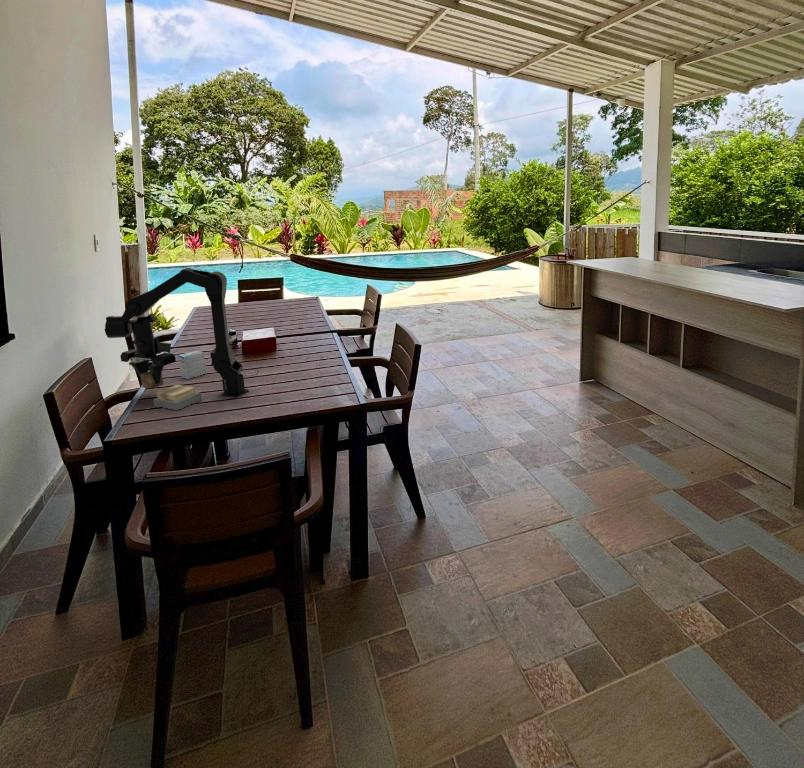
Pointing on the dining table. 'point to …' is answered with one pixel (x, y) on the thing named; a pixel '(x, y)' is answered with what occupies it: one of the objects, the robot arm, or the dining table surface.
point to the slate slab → (178, 404)
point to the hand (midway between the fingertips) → (152, 382)
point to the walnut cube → (149, 380)
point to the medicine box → (192, 364)
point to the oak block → (176, 393)
